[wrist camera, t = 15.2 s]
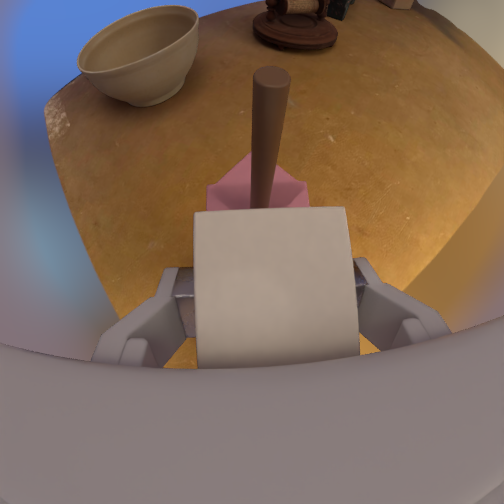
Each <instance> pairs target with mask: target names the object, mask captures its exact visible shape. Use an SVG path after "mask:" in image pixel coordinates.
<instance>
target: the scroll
mask: <svg viewBox="0 0 504 504" xmlns="http://www.w3.org/2000/svg"><path fill="white" fill-rule="evenodd" d="M329 3H330V0H266V4H267V5H268V7H267V9H268V11H266V12H263V13H261V14H259V15H257V16H256V17H255V18H254V20H253V30H254V32H255V33H256V34H257V35H258V36H259V37H261V38H263V39H264V40H266V41H269V42H271V43H274V44H277V45H278V48H279V50H283V49H284V47H290V48H296V49H322V48H326V47H329V46H330V47H332V46H333V44H334V43H335V42H336V40H337V36H338V32H337V30H336V28H335V27H334V26H333V25H332V24H331V23H330V22H329V21H327V20H326V19H324V18H325V17H326V11H325V9H327V7H326V6H327V5H329Z"/></svg>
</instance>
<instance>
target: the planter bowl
mask: <svg viewBox="0 0 504 504" xmlns="http://www.w3.org/2000/svg"><path fill="white" fill-rule="evenodd" d="M198 24H199V18H198V14H197V13H196V11H194V10H193V9H191V8H188V7H185V6H180V5H164V6H157V7H151V8H147V9H144V10H141V11H138V12H135V13H132V14H129V15H127V16H125V17H123V18H121V19H119V20H117V21H115V22H113V23H111V24H110V25H108V26H107V27H105V28H104V29H102V30H101V31H99V32H98V33H97V34H96V35H94V36H93V37H92V38H91V39H90V40H89V41H88V42H87V43H86V45H85V46H84V47H83V48H82V50H81V52H80V53H79V55H78V58H77V66H78V68H79V70H80V71H81V72H82V73H83V74H84V75H86V77H87V78H88V80H89V81H90V82H91V83H92V84H93V85H94V86H95V87H96V88H97V89H98V90H100V91H101V92H102V93H104V94H106V95H108V96H110V97H112V98H115V99H118V100H121V101H125V102H127V103H129V104H130V105H132V106H136V107H148V106H152V105H156V104H159V103H161V102H163V101H165V100H167V99H169V98H170V97H172V96H173V95H175V94H176V93H177V92H178V91H179V90H180V89H181V87H182V86H183V84H184V82H185V76H186V75H187V73H188V71H189V70H190V68H191V66H192V64H193V61H194V58H195V55H196V52H197V47H198Z"/></svg>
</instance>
